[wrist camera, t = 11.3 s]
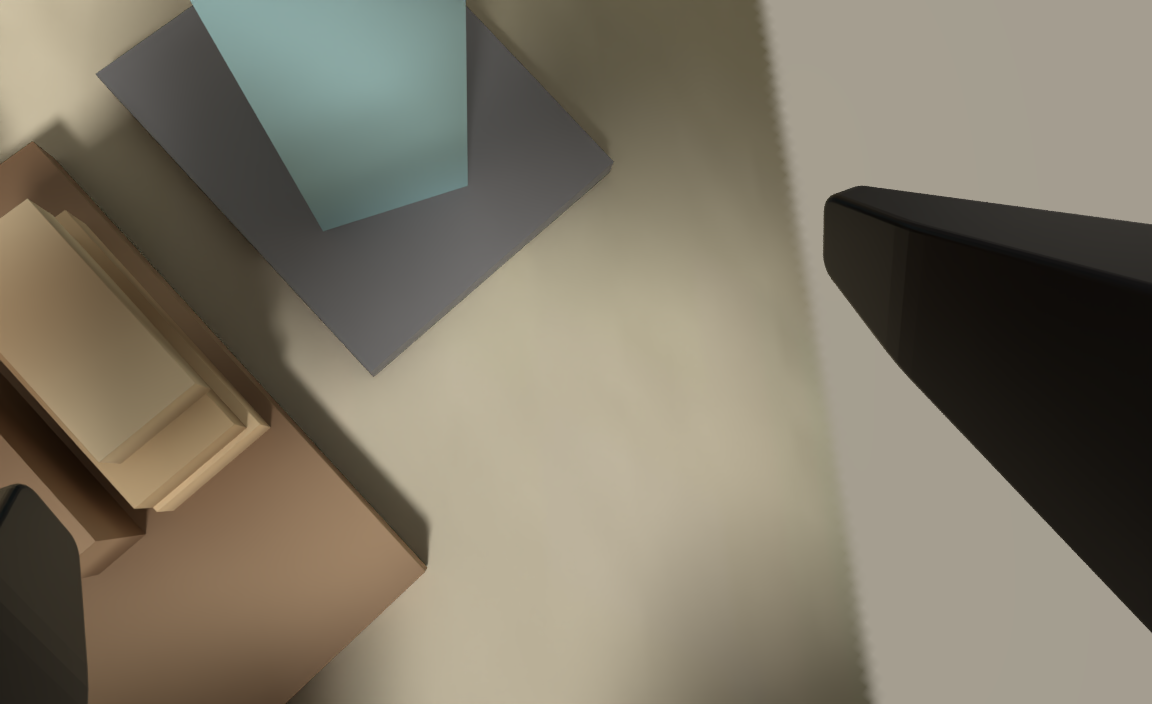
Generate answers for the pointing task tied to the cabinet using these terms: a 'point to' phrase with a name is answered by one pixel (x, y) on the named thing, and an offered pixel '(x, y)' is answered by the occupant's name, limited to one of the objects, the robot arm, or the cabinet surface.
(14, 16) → the cabinet surface
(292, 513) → the rack
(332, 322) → the mat
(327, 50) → the teal rectangular block
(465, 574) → the cabinet surface
